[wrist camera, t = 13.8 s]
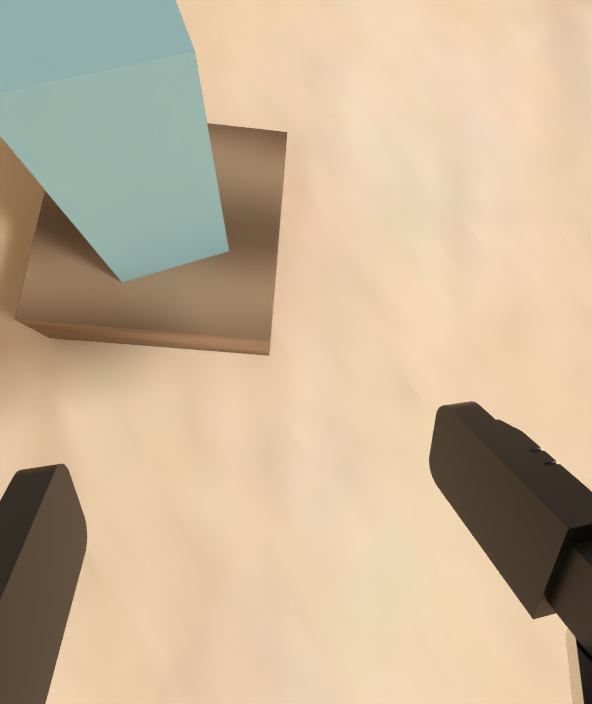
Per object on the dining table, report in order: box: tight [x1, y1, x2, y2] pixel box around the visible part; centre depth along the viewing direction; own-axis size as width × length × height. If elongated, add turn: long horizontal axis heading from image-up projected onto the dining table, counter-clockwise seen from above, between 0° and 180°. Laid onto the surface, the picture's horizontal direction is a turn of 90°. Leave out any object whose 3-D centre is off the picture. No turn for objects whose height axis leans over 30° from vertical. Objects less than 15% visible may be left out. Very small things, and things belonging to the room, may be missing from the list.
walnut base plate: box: [15, 123, 287, 355], centre depth 21 cm, size 11×11×3 cm
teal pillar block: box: [0, 0, 229, 282], centre depth 15 cm, size 5×5×10 cm
